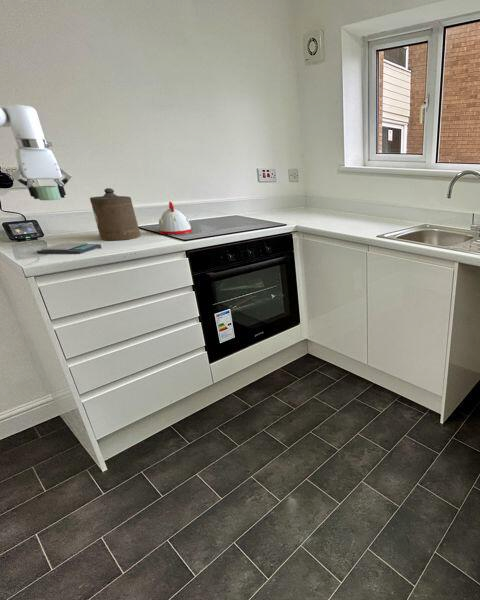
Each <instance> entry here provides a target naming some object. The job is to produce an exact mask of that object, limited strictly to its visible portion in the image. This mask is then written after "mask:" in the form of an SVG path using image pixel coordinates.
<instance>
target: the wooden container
mask: <svg viewBox="0 0 480 600" xmlns="http://www.w3.org/2000/svg"><path fill="white" fill-rule="evenodd" d="M103 192H104V195H101V196H92V197H91V196H90V197H89V200H90V205H91V208H92V212H93V215H94V219H95V224H96V226H97V231H98V234H99V237H100V240H103V241H126V240H134V239H137V238H140V237H141V232H140V229H139V223H138V220H137V216H136V212H135V209H134V205H133V201H132V198H131V196H124V195H117V194H115V190H114V189H113V188H111V187H107V188H105V189H104V190H103Z"/></svg>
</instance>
